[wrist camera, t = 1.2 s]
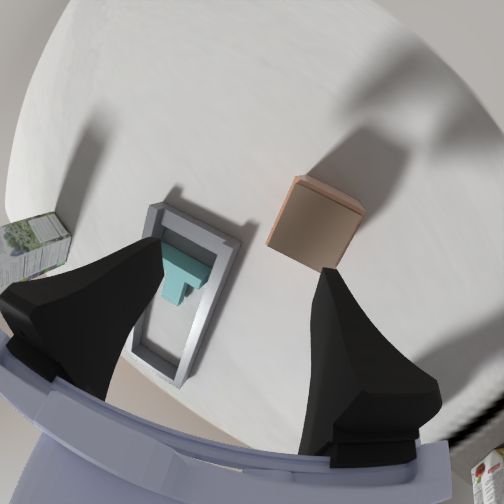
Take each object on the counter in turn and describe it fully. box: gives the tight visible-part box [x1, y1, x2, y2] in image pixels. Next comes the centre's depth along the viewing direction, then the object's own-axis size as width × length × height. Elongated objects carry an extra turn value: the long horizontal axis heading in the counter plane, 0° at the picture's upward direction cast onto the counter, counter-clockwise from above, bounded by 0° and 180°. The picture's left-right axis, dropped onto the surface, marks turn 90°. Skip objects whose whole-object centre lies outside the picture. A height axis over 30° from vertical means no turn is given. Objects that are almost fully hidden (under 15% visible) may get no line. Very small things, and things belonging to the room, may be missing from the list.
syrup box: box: [0, 212, 72, 294], centre depth 25 cm, size 6×6×14 cm
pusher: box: [161, 241, 212, 306], centre depth 24 cm, size 6×5×2 cm
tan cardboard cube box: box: [265, 174, 366, 273], centre depth 17 cm, size 4×4×6 cm
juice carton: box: [471, 447, 504, 504], centre depth 12 cm, size 8×9×19 cm
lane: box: [125, 202, 242, 389], centre depth 26 cm, size 8×20×2 cm, turn 158°
